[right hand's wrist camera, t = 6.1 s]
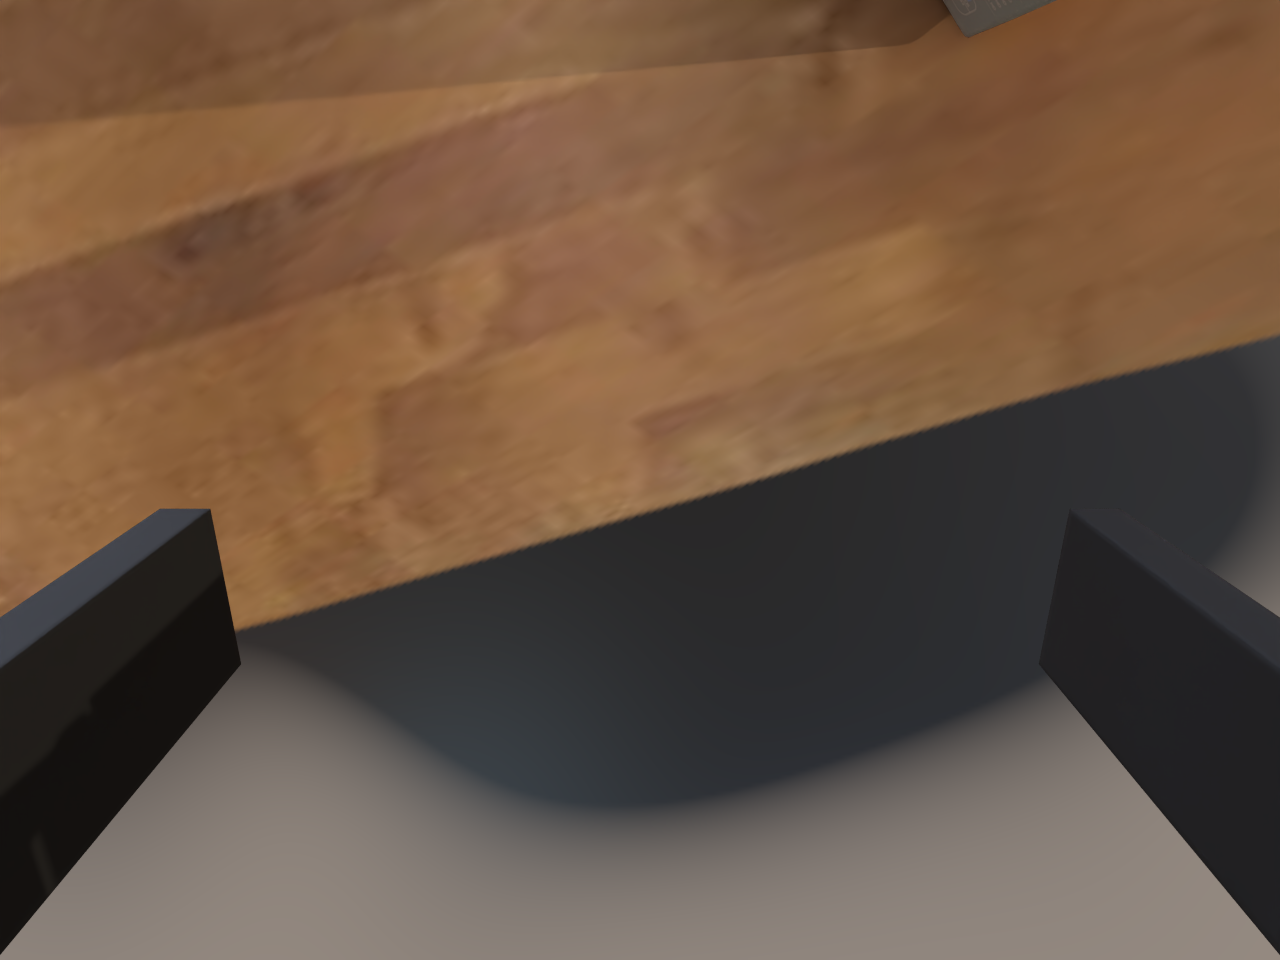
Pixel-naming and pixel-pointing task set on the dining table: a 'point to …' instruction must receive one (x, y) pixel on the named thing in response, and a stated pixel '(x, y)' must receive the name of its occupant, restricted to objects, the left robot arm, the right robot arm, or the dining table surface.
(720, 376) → the dining table surface
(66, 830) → the right robot arm
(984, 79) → the dining table surface
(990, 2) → the hard drive box
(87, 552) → the dining table surface
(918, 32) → the dining table surface
